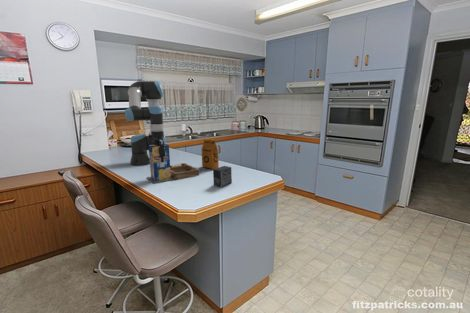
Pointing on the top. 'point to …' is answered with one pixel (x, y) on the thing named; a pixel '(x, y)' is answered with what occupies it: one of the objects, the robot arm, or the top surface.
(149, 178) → the mat
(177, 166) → the offcut stack
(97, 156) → the top surface
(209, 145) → the coffee package
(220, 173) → the small box
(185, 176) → the frame
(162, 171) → the beverage box
